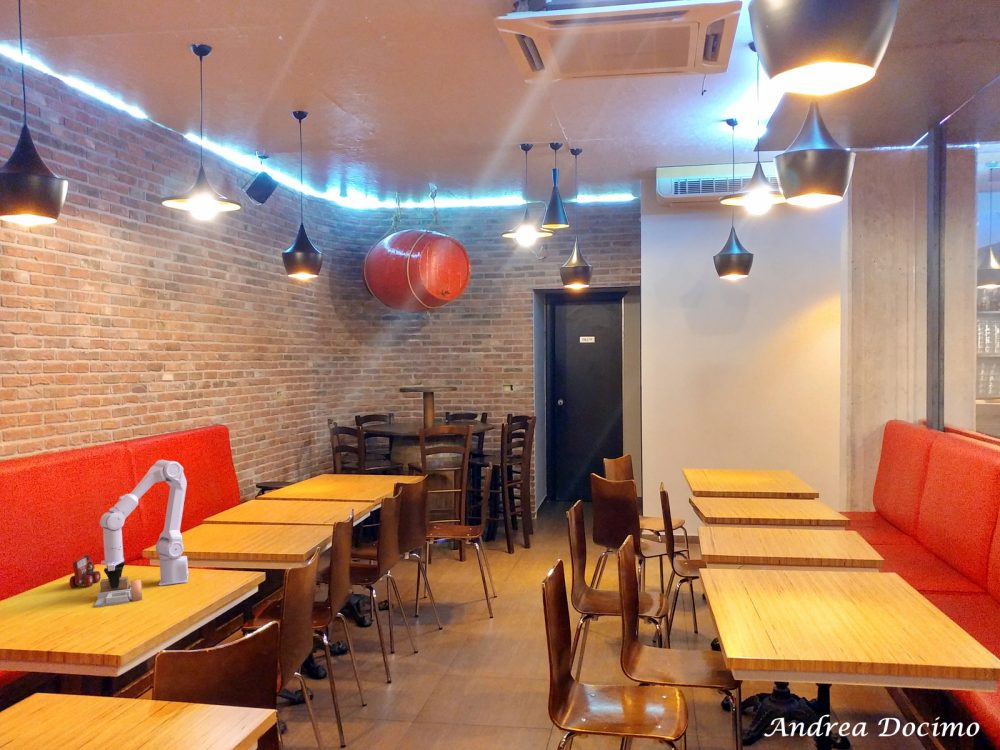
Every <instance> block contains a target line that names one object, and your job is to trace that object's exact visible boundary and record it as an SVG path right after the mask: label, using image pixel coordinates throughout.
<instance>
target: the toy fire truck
mask: <svg viewBox="0 0 1000 750" xmlns="http://www.w3.org/2000/svg"><path fill="white" fill-rule="evenodd" d="M72 568H73V572H74V575H72V576H70V578H69V582H68V584H69V586H70V588H77V587H78V586H79V585H81V586H82V585H84V586H85V587H89V586H90V587H92V586H93V584H94V583H100V582H101V572H100V571H99V570H96V567H95V564H94V562H93V559H92V558H90V555H89V554H84V555H83V556H81V557H80V558H77V559H75V560H73V562H72Z"/></svg>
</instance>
